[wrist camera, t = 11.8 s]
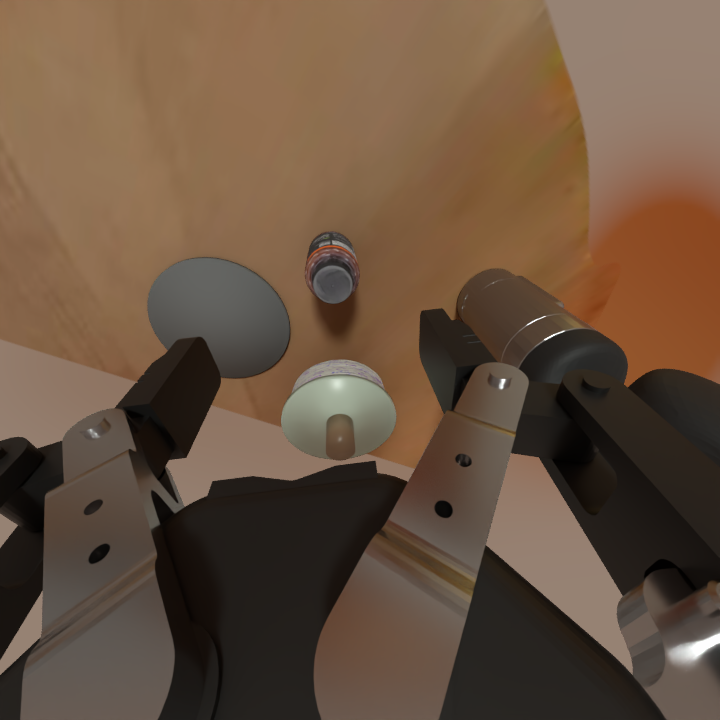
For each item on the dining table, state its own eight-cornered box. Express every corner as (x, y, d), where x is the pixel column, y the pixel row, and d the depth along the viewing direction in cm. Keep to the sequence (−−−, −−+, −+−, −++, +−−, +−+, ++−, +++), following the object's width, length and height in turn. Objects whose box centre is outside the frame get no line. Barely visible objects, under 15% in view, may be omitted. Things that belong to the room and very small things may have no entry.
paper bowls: (366, 335, 46) (372, 365, 40) (392, 401, 55) (400, 435, 48) (277, 365, 48) (269, 399, 42) (315, 425, 57) (314, 460, 50)
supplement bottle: (332, 285, 41) (333, 324, 32) (298, 254, 38) (289, 286, 29) (363, 254, 39) (374, 286, 30) (330, 219, 36) (331, 242, 27)
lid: (394, 367, 40) (403, 397, 35) (395, 448, 50) (402, 480, 45) (269, 381, 40) (260, 413, 35) (294, 459, 50) (290, 493, 45)
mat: (271, 249, 38) (270, 250, 37) (301, 368, 49) (301, 370, 48) (120, 266, 37) (118, 267, 37) (185, 382, 48) (184, 384, 48)
